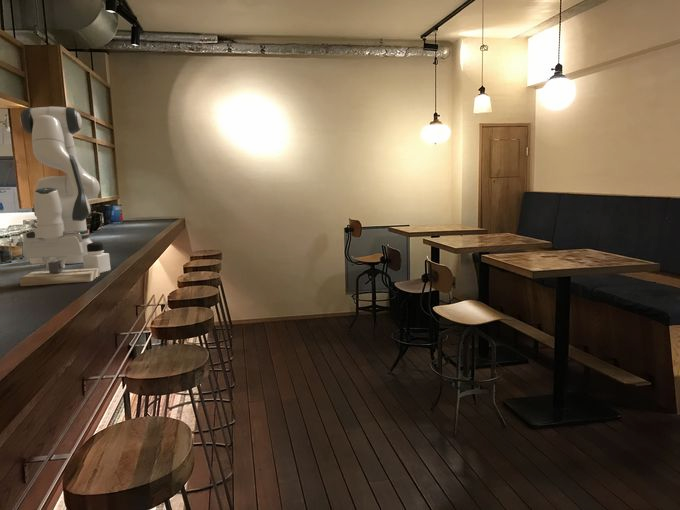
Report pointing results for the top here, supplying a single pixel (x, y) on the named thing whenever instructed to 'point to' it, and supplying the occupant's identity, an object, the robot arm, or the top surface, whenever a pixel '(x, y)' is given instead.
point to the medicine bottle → (96, 257)
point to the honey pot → (39, 260)
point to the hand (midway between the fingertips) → (55, 268)
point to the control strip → (60, 276)
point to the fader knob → (55, 266)
